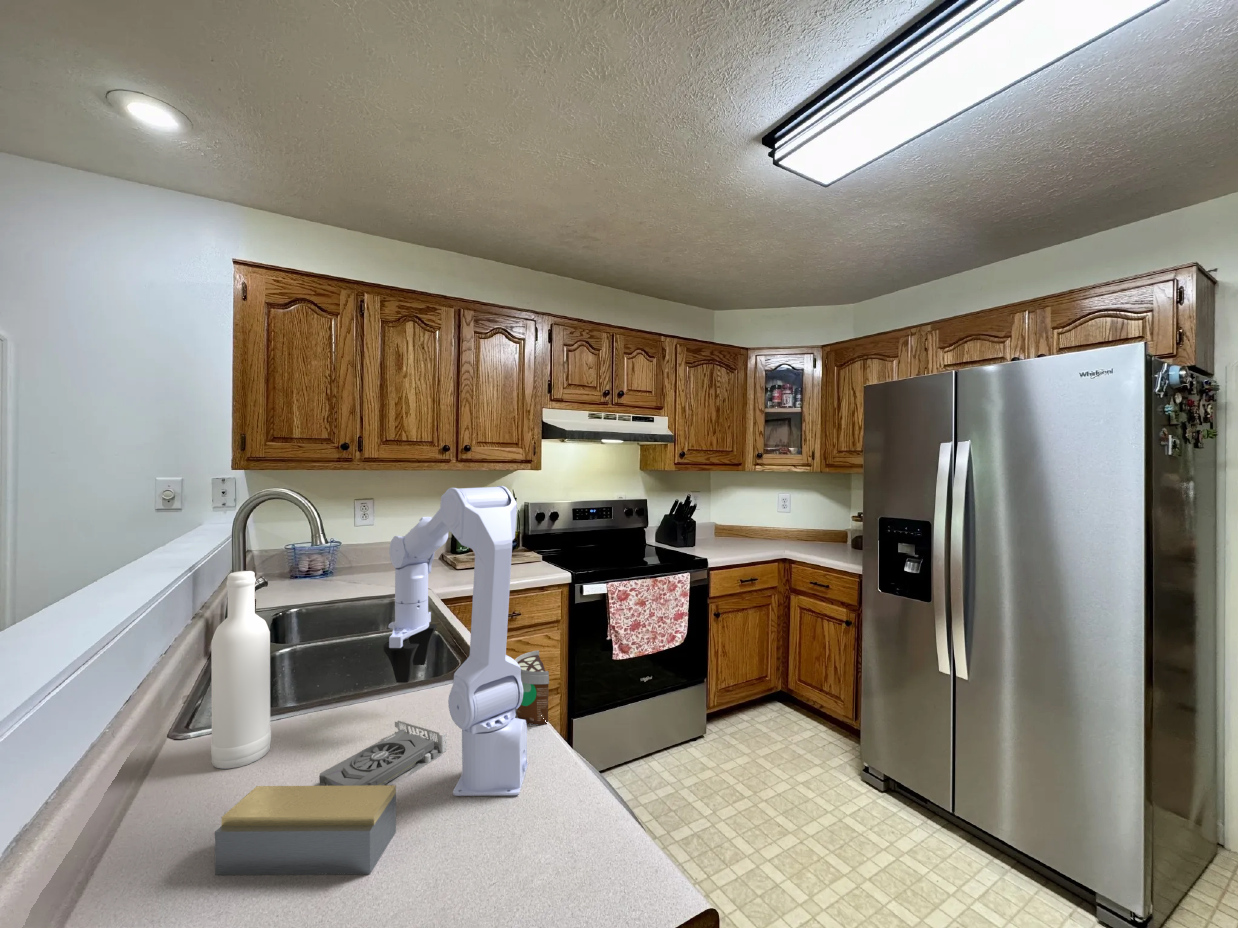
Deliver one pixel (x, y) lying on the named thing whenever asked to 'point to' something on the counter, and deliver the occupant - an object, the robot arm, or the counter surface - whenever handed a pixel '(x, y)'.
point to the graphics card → (387, 758)
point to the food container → (533, 689)
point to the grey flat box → (306, 830)
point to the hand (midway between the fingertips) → (411, 672)
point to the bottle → (240, 679)
